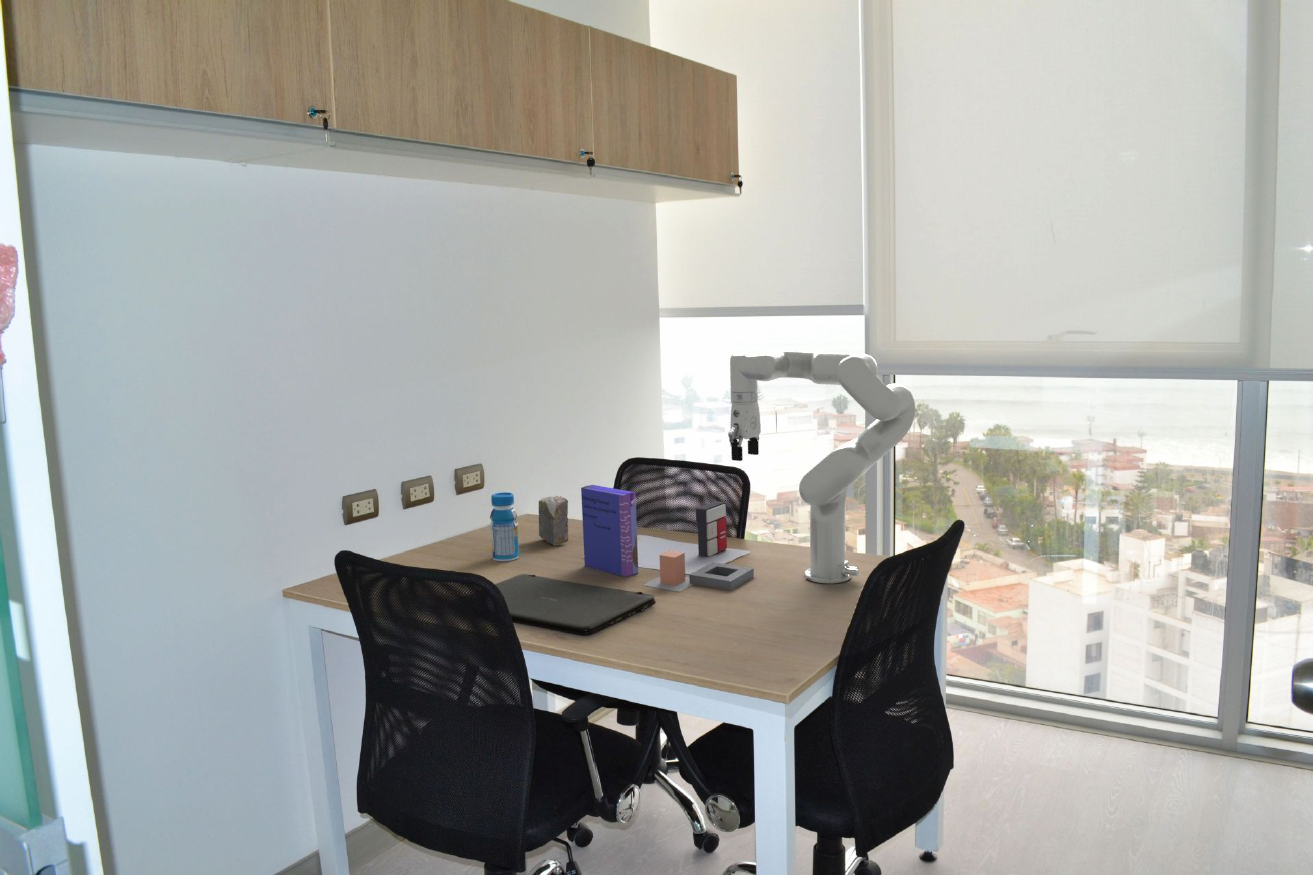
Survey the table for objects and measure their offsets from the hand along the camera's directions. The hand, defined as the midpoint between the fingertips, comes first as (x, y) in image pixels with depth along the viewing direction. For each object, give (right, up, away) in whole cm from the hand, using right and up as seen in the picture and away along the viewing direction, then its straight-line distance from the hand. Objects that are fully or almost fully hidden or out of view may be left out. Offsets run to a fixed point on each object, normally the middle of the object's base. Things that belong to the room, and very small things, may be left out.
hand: (745, 457), depth 276 cm
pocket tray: (-7, -34, -7) cm, 36 cm away
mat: (-21, -35, -8) cm, 41 cm away
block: (-21, -34, -8) cm, 41 cm away
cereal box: (-38, -33, +7) cm, 51 cm away
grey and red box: (-8, -30, +21) cm, 37 cm away
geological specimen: (-58, -28, +39) cm, 75 cm away
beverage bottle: (-71, -32, +23) cm, 81 cm away
